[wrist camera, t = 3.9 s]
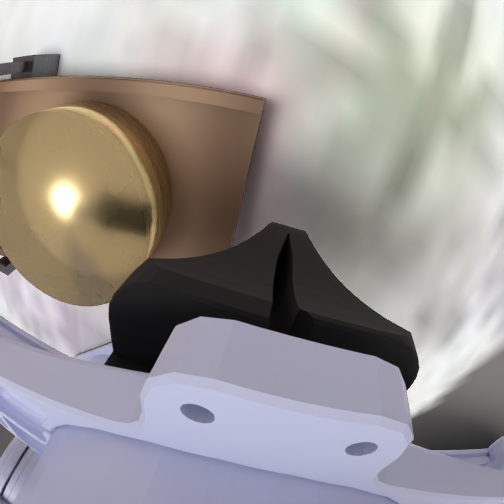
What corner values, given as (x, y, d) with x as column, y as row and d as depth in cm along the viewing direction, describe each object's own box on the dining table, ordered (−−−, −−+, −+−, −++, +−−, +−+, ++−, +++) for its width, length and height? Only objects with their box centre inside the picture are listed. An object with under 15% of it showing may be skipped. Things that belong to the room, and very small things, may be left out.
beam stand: (59, 54, 12) (-1, 57, 8) (56, 247, 18) (13, 282, 14) (37, 56, 12) (-20, 61, 8) (36, 239, 18) (-5, 271, 15)
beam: (265, 98, 11) (264, 100, 10) (220, 298, 16) (214, 320, 15) (-80, 94, 10) (-96, 99, 8) (-72, 211, 15) (-84, 220, 13)
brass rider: (186, 111, 11) (158, 121, 8) (164, 284, 15) (144, 327, 12) (27, 99, 10) (-19, 111, 8) (33, 247, 14) (1, 278, 12)
